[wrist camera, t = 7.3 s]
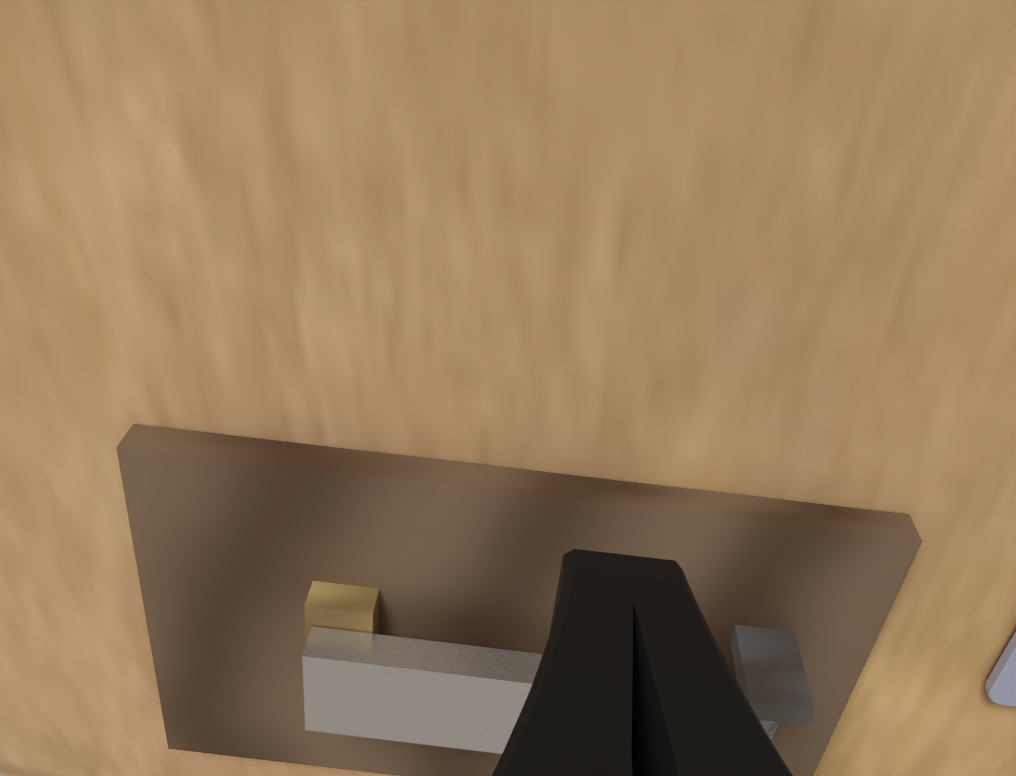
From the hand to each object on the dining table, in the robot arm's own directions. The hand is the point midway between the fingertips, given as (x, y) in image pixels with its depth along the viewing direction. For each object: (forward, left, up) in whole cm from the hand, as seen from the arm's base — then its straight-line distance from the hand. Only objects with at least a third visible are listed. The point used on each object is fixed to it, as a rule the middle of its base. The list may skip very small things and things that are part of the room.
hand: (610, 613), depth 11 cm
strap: (0, +12, -8) cm, 15 cm away
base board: (+1, +12, -10) cm, 16 cm away
